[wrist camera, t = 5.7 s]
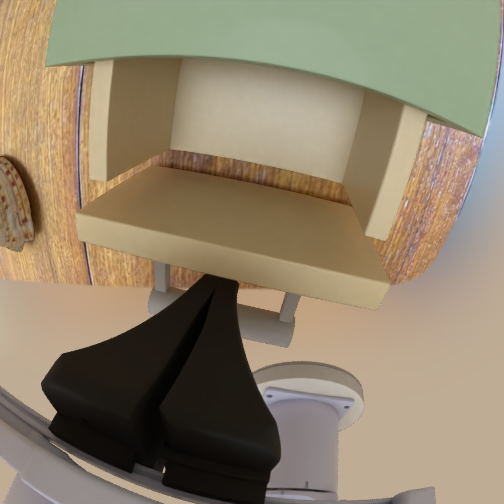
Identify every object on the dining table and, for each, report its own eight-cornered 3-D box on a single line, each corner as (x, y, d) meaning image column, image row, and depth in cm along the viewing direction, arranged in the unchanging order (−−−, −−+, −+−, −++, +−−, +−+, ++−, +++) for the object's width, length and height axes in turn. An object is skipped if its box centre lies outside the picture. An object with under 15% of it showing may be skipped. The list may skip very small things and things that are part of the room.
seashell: (29, 274, 20) (-38, 249, 16) (47, 233, 24) (-14, 214, 20) (31, 194, 16) (-45, 170, 12) (57, 161, 20) (-11, 141, 16)
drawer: (325, 299, 18) (329, 390, 12) (150, 258, 18) (95, 329, 13) (405, 9, 9) (469, -34, 3) (181, -27, 9) (112, -76, 4)
